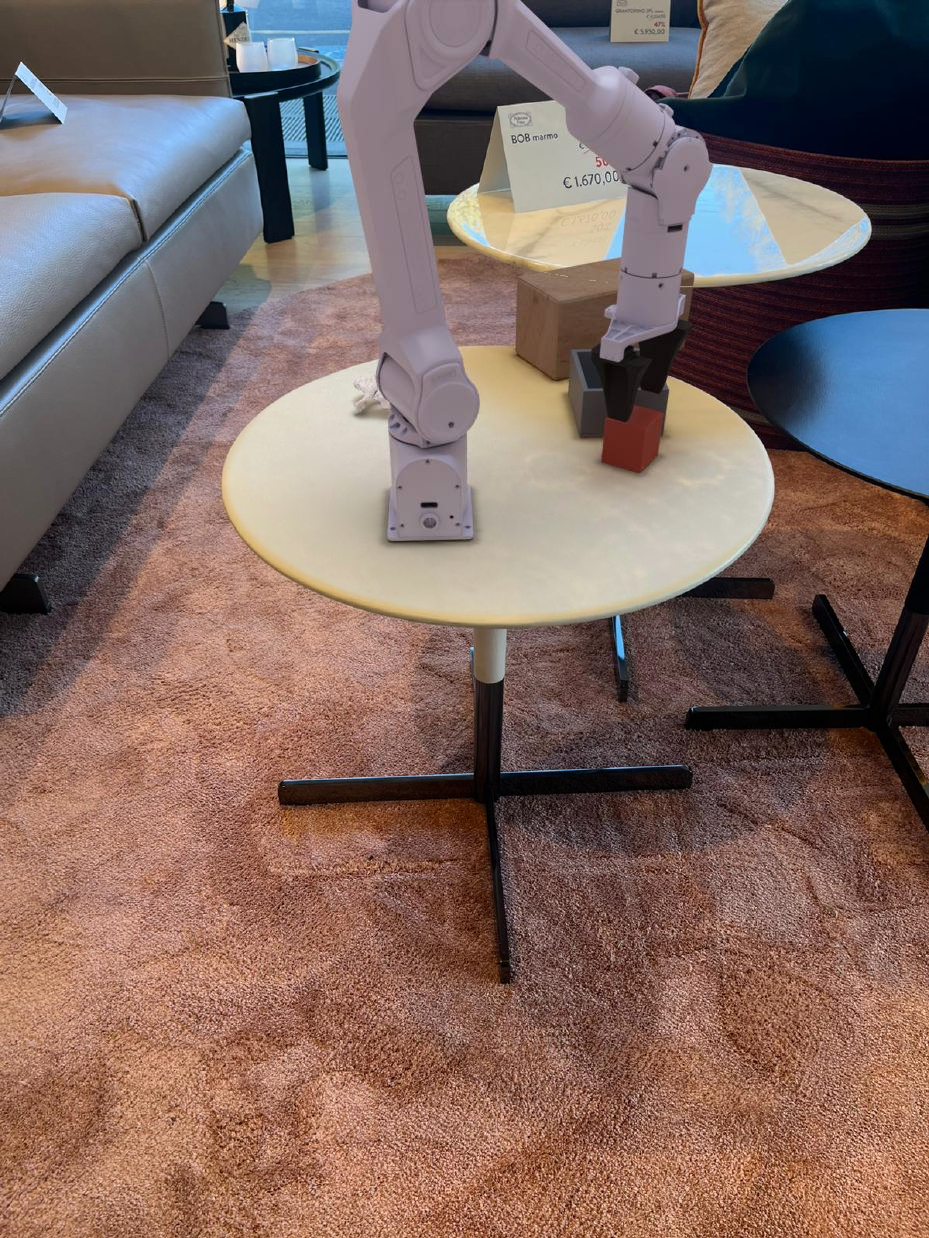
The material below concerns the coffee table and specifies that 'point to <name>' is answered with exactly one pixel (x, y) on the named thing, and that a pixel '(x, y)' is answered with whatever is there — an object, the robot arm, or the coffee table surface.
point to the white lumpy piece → (369, 392)
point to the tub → (601, 396)
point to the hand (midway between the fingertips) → (635, 404)
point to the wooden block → (570, 312)
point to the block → (632, 440)
